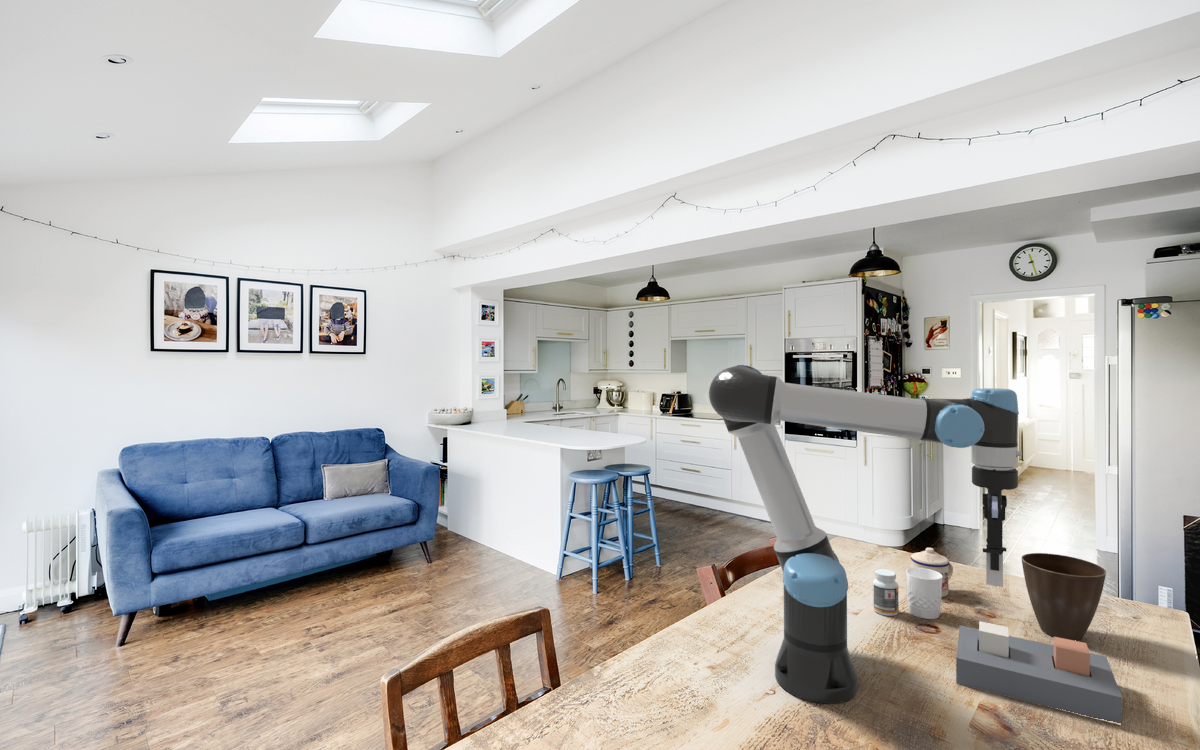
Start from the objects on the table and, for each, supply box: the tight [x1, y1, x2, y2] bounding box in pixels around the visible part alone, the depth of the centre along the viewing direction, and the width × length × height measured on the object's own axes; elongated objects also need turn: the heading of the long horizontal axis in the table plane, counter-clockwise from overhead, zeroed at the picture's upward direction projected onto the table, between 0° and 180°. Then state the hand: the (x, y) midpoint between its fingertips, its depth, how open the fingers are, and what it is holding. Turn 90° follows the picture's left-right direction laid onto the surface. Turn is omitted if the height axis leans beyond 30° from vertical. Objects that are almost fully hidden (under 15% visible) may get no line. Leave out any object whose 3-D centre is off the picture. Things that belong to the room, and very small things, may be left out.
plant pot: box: [1021, 552, 1107, 641], centre depth 130 cm, size 15×15×16 cm
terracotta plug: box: [1053, 637, 1091, 677], centre depth 107 cm, size 5×5×6 cm
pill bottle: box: [872, 568, 900, 617], centre depth 142 cm, size 6×6×10 cm
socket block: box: [955, 624, 1123, 724], centre depth 111 cm, size 16×24×5 cm, turn 56°
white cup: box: [905, 567, 943, 620], centre depth 141 cm, size 8×8×10 cm
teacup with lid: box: [910, 547, 954, 598], centre depth 154 cm, size 12×9×12 cm
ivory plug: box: [978, 620, 1010, 658], centre depth 114 cm, size 5×5×6 cm
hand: (994, 584), depth 114 cm, fingers closed
